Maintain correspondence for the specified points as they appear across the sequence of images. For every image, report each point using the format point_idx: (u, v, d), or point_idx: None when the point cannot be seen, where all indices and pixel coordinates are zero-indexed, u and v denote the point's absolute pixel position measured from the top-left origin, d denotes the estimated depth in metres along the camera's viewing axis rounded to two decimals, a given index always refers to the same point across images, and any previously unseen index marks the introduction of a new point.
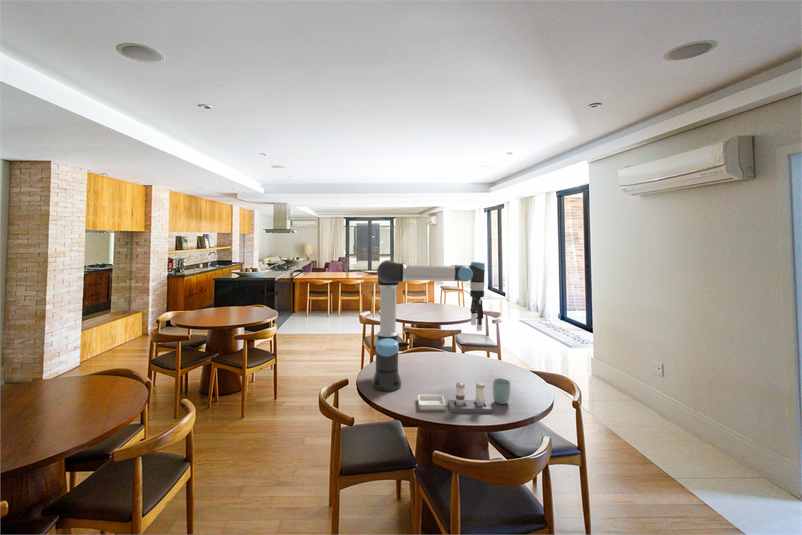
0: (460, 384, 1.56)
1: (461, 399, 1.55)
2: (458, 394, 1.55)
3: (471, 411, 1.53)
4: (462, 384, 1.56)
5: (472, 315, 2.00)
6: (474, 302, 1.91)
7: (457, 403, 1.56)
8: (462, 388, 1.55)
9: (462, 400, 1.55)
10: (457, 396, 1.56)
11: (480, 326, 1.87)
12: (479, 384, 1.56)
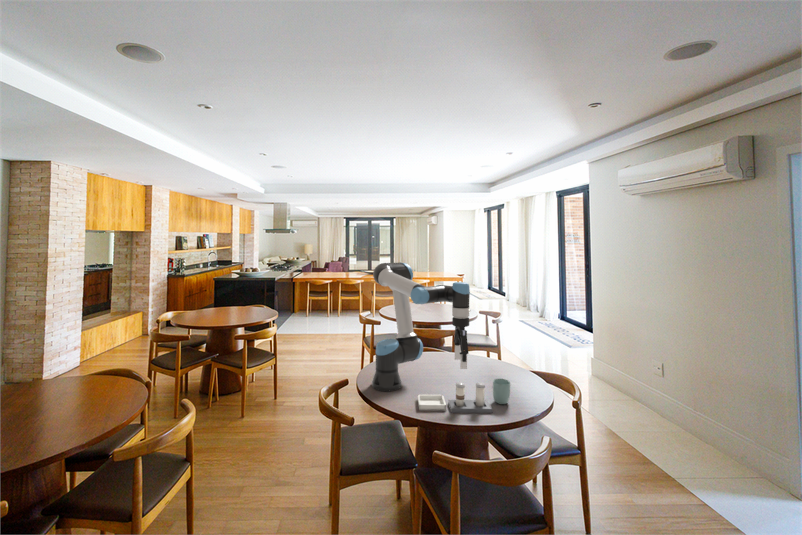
0: (460, 384, 1.56)
1: (461, 399, 1.55)
2: (458, 394, 1.55)
3: (471, 411, 1.53)
4: (462, 384, 1.56)
5: (456, 347, 1.63)
6: (457, 333, 1.54)
7: (457, 403, 1.56)
8: (462, 388, 1.55)
9: (462, 400, 1.55)
10: (457, 396, 1.56)
11: (465, 363, 1.50)
12: (479, 384, 1.56)
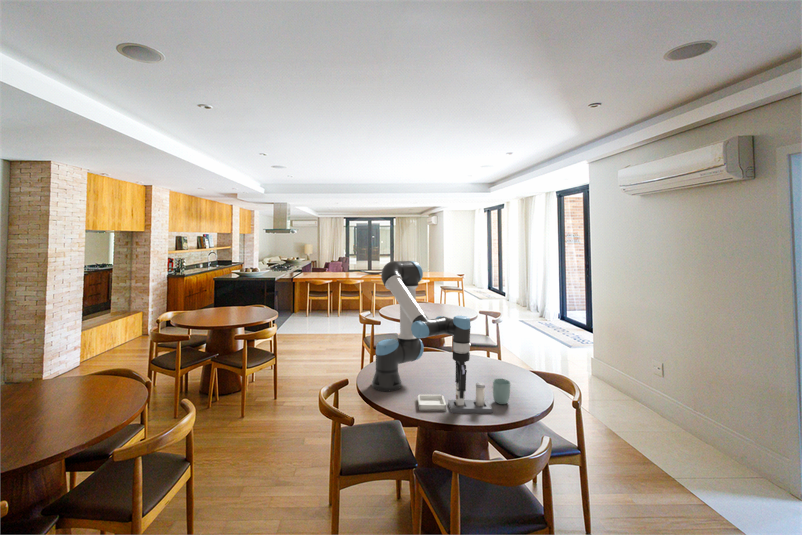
0: None
1: None
2: None
3: (471, 411, 1.53)
4: None
5: None
6: (457, 368, 1.54)
7: (457, 403, 1.56)
8: None
9: None
10: (457, 396, 1.56)
11: (462, 399, 1.54)
12: (479, 384, 1.56)
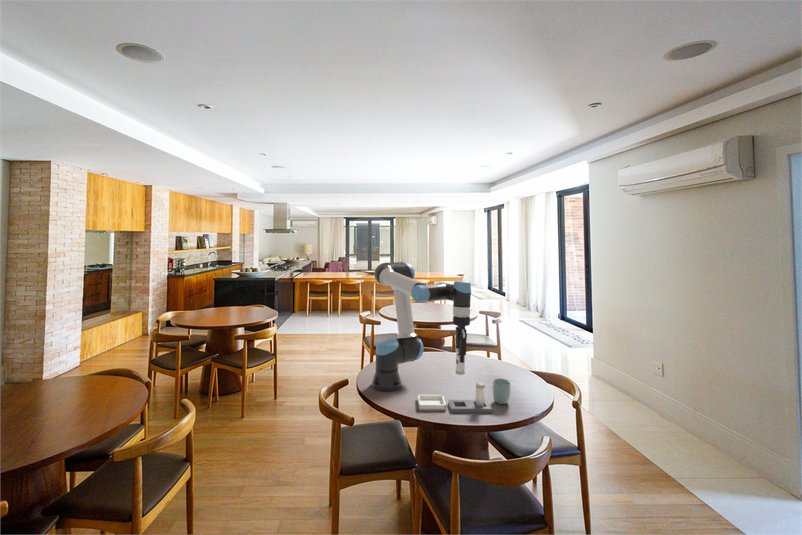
0: None
1: None
2: None
3: (471, 411, 1.53)
4: None
5: None
6: (457, 332, 1.53)
7: (457, 368, 1.55)
8: None
9: None
10: (457, 361, 1.55)
11: (462, 364, 1.54)
12: (479, 384, 1.56)
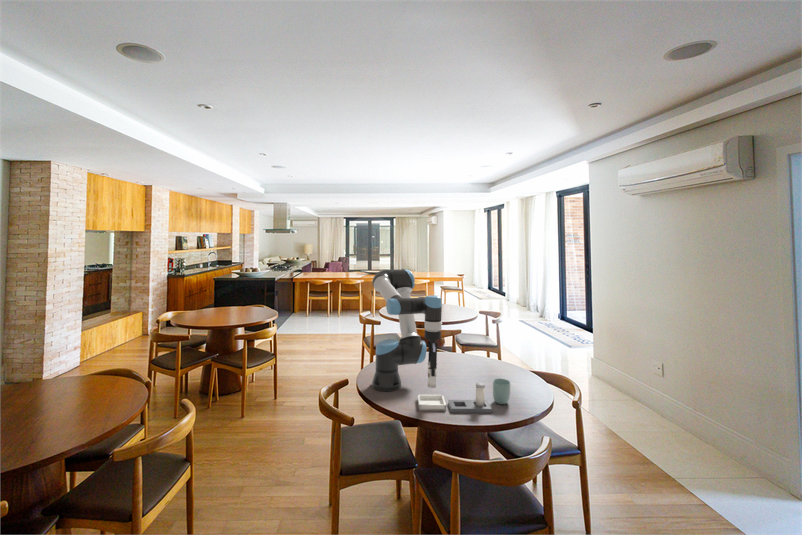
0: None
1: None
2: None
3: (471, 411, 1.53)
4: None
5: None
6: (428, 346, 1.56)
7: (429, 381, 1.58)
8: None
9: None
10: (429, 374, 1.58)
11: (434, 377, 1.56)
12: (479, 384, 1.56)
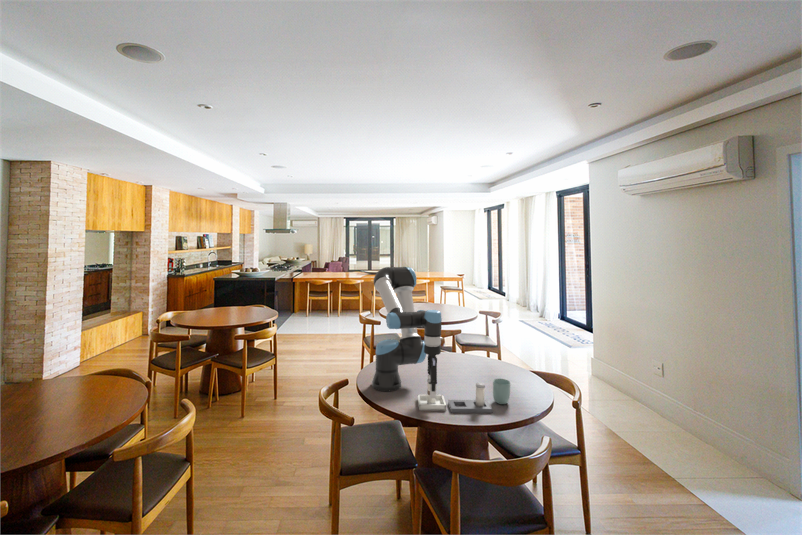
0: None
1: None
2: (429, 390, 1.58)
3: (471, 411, 1.53)
4: None
5: (429, 377, 1.64)
6: (428, 361, 1.57)
7: (428, 399, 1.58)
8: None
9: None
10: (428, 392, 1.58)
11: (434, 392, 1.54)
12: (479, 384, 1.56)
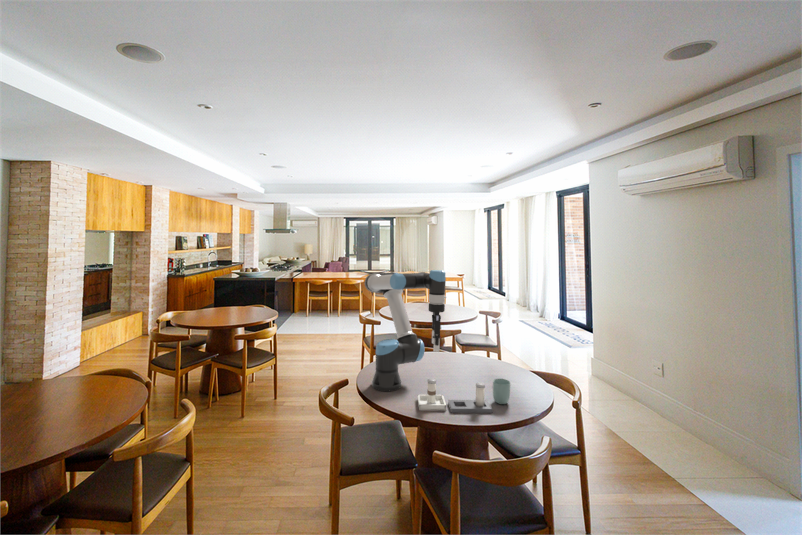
0: (431, 380, 1.59)
1: (432, 395, 1.58)
2: (429, 390, 1.58)
3: (471, 411, 1.53)
4: (433, 380, 1.59)
5: (433, 332, 1.72)
6: (432, 318, 1.62)
7: (428, 399, 1.59)
8: (433, 384, 1.58)
9: (433, 396, 1.58)
10: (428, 392, 1.58)
11: (437, 347, 1.58)
12: (479, 384, 1.56)
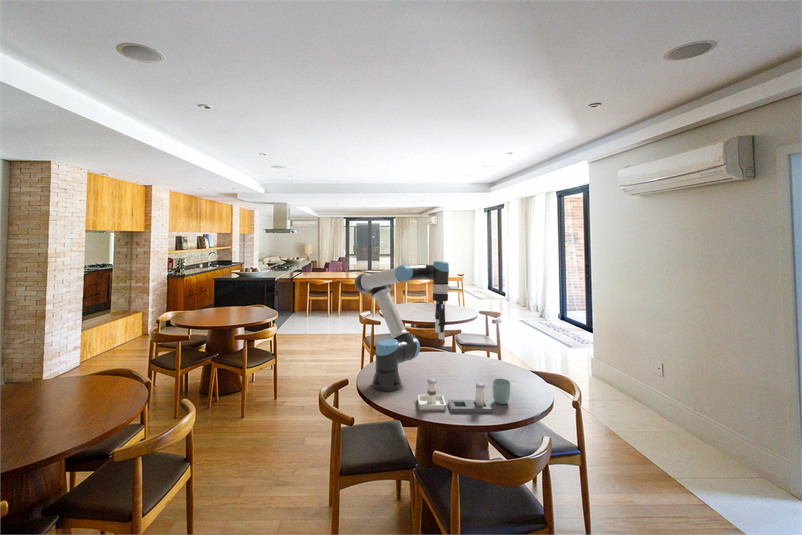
0: (431, 380, 1.59)
1: (432, 395, 1.58)
2: (429, 390, 1.58)
3: (471, 411, 1.53)
4: (433, 380, 1.59)
5: (436, 321, 1.79)
6: (437, 307, 1.69)
7: (428, 399, 1.59)
8: (433, 384, 1.58)
9: (433, 396, 1.58)
10: (428, 392, 1.58)
11: (442, 334, 1.65)
12: (479, 384, 1.56)
